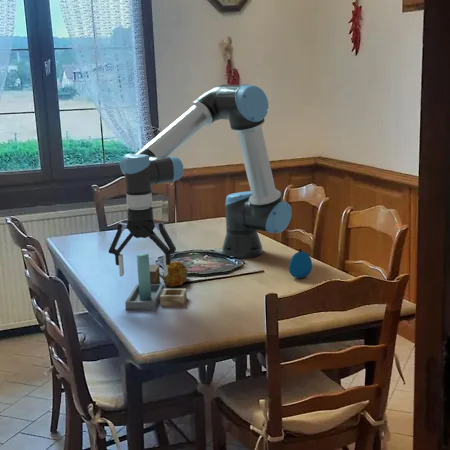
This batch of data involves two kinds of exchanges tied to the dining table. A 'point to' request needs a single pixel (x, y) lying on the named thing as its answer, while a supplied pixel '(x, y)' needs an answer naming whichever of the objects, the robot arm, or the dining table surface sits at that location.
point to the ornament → (300, 264)
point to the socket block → (173, 297)
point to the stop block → (154, 274)
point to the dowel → (144, 276)
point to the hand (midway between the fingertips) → (143, 275)
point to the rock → (175, 274)
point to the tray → (137, 304)
